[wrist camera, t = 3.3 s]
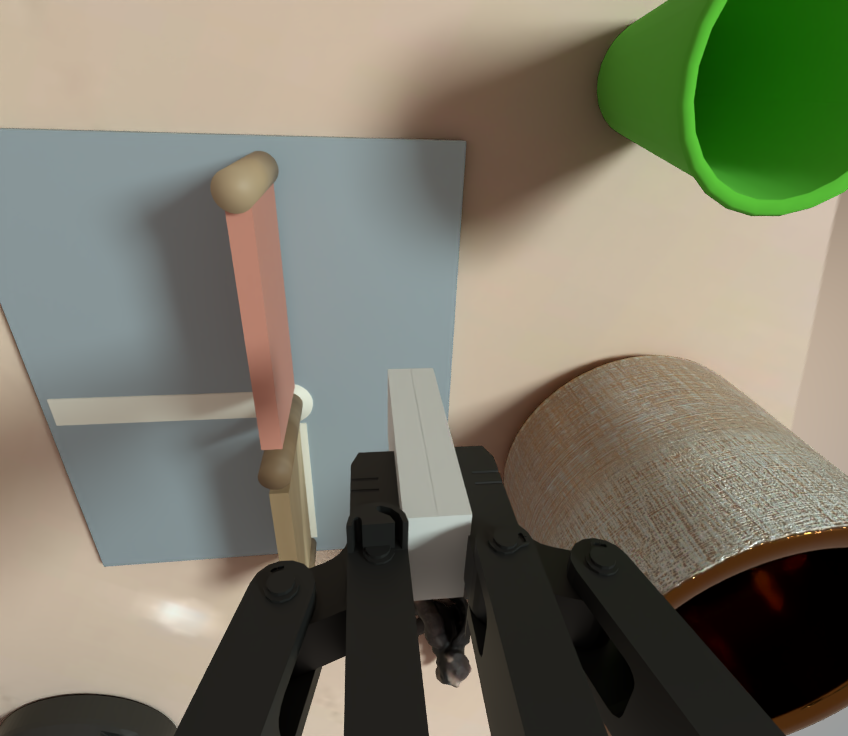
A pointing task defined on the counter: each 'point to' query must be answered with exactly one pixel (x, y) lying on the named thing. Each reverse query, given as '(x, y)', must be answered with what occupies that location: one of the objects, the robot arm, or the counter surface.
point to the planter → (702, 518)
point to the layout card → (218, 320)
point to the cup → (738, 97)
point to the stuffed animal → (445, 636)
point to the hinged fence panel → (259, 287)
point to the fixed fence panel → (289, 493)
